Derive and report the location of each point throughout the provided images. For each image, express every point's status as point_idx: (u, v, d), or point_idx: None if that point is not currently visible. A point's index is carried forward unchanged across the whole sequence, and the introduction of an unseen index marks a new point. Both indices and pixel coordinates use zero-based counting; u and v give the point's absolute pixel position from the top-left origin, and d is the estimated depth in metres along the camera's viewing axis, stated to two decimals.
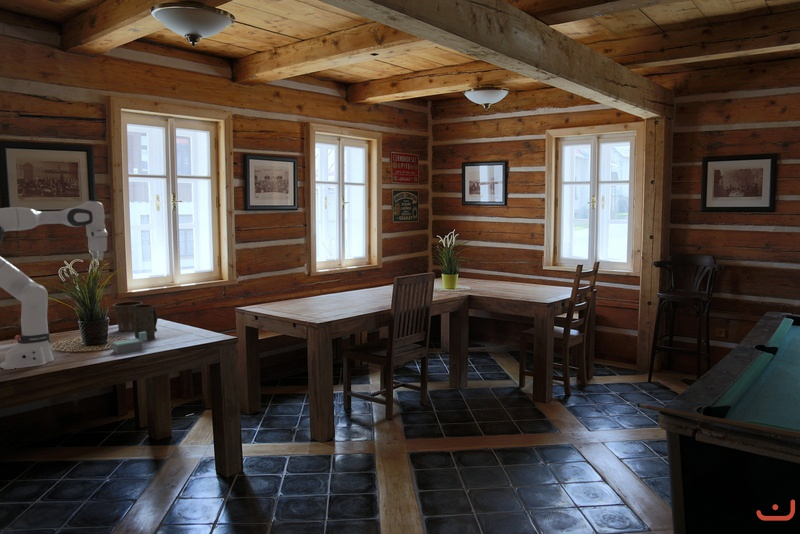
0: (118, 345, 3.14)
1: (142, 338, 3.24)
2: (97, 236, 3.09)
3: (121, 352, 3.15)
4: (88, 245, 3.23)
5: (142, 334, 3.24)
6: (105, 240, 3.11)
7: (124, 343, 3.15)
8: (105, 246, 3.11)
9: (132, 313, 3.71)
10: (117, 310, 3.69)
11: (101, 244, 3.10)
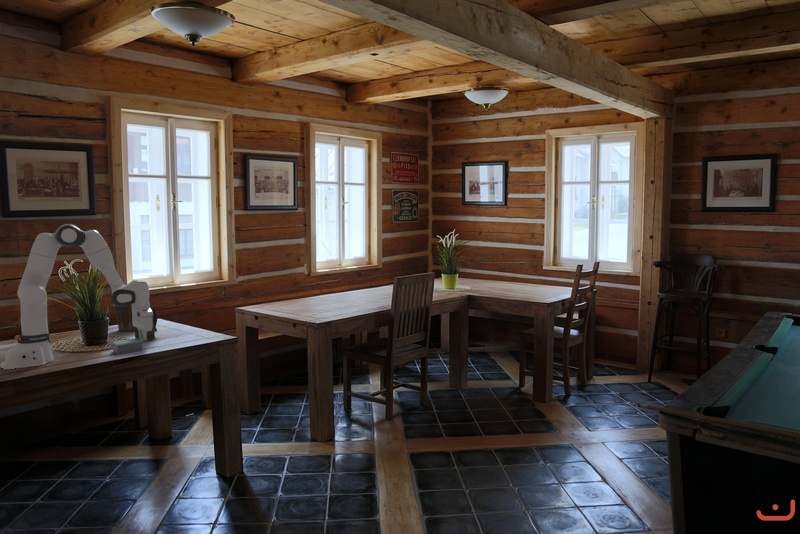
0: (118, 345, 3.14)
1: (142, 338, 3.24)
2: (143, 316, 3.16)
3: (121, 352, 3.15)
4: (132, 322, 3.30)
5: None
6: (150, 320, 3.18)
7: (124, 343, 3.15)
8: (151, 326, 3.18)
9: None
10: (117, 310, 3.69)
11: (147, 324, 3.17)
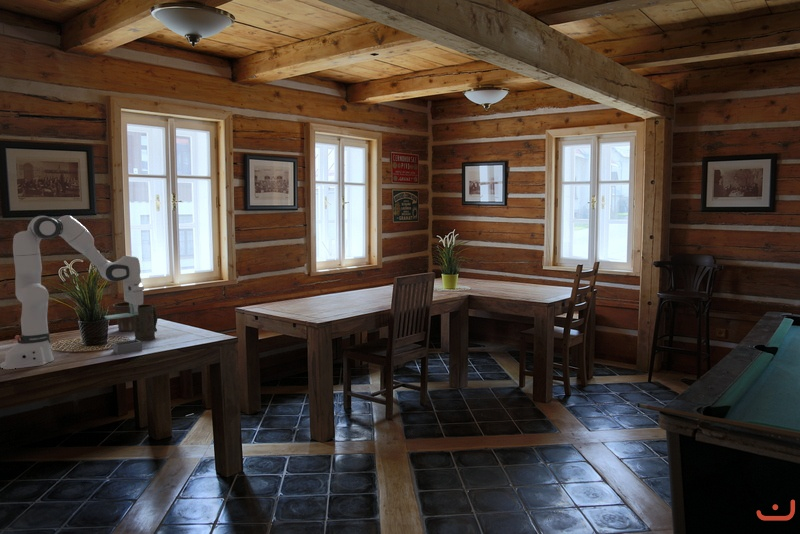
0: None
1: (133, 312, 3.29)
2: (134, 290, 3.22)
3: (121, 352, 3.15)
4: (124, 297, 3.36)
5: (133, 308, 3.29)
6: (141, 294, 3.24)
7: (115, 317, 3.21)
8: (142, 300, 3.24)
9: None
10: (117, 310, 3.69)
11: (138, 298, 3.22)
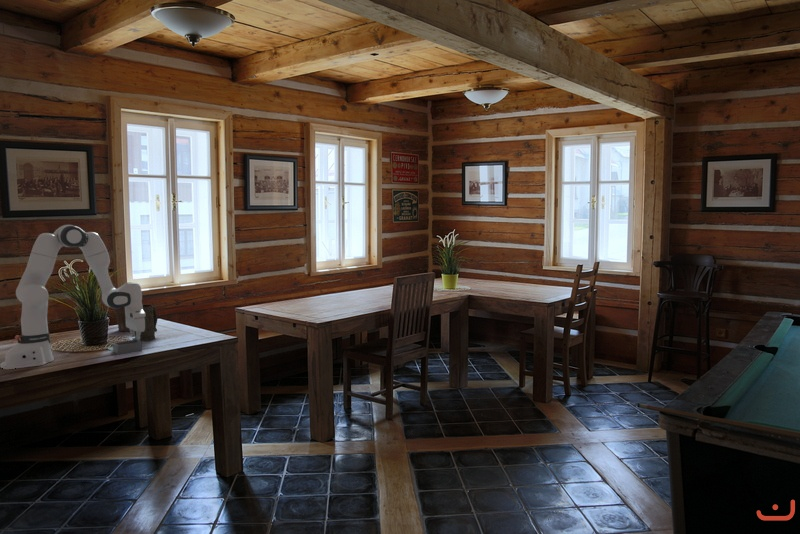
0: None
1: None
2: (136, 317, 3.24)
3: (121, 352, 3.15)
4: None
5: None
6: (143, 321, 3.25)
7: None
8: (143, 327, 3.25)
9: None
10: (117, 310, 3.69)
11: (140, 325, 3.24)
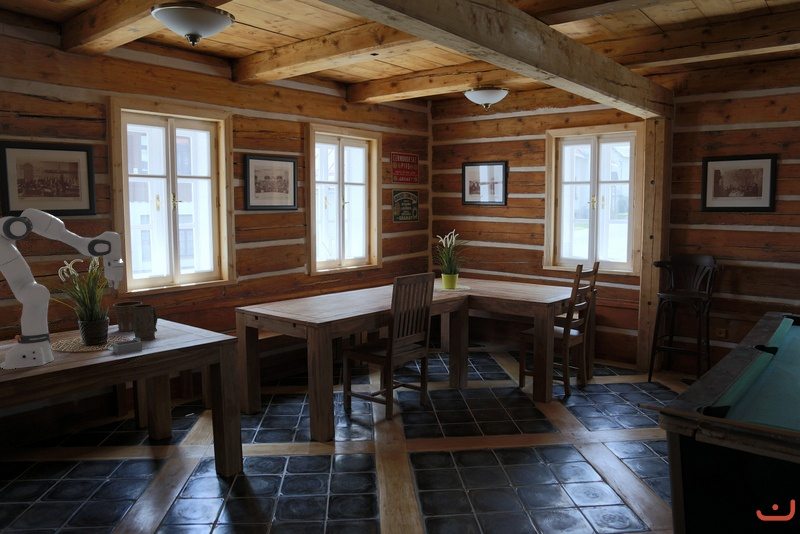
0: None
1: None
2: (113, 266, 3.21)
3: (121, 352, 3.15)
4: (104, 274, 3.34)
5: None
6: (121, 270, 3.22)
7: None
8: (121, 276, 3.22)
9: (132, 313, 3.71)
10: (117, 310, 3.69)
11: (117, 274, 3.21)
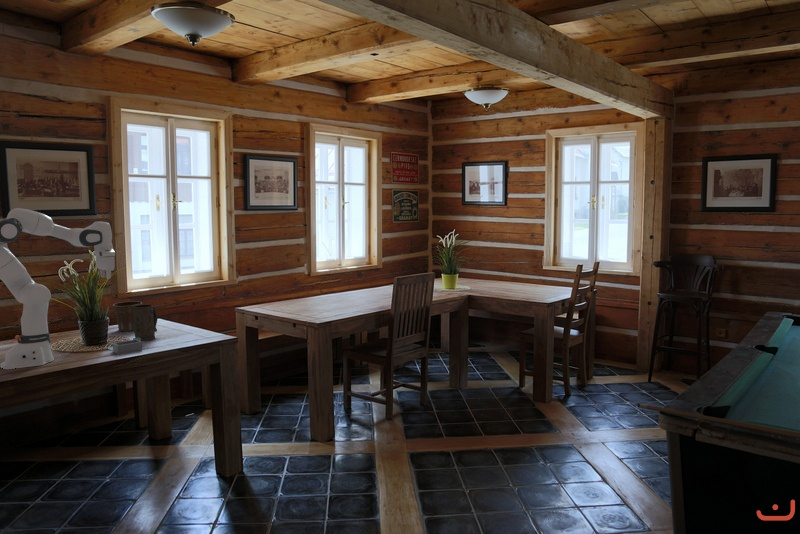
0: None
1: None
2: (105, 256, 3.20)
3: (121, 352, 3.15)
4: (96, 264, 3.34)
5: None
6: (112, 260, 3.22)
7: None
8: (113, 265, 3.22)
9: (132, 313, 3.71)
10: (117, 310, 3.69)
11: (109, 264, 3.20)
